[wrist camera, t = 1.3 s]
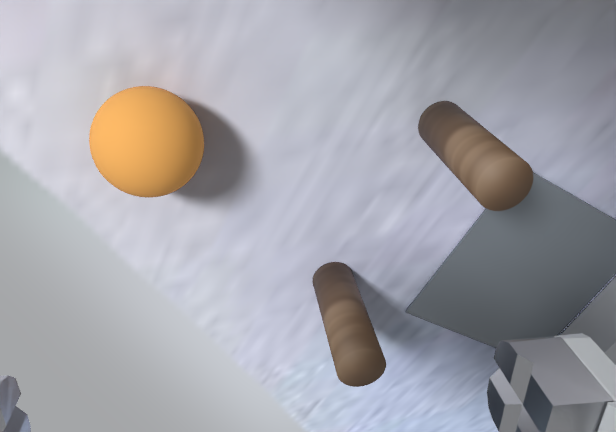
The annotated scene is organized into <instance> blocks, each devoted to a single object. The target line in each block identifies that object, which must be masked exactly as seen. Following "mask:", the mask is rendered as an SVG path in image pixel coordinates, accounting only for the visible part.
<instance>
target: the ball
mask: <svg viewBox="0 0 616 432" xmlns="http://www.w3.org/2000/svg"><path fill="white" fill-rule="evenodd" d="M89 143H90V151H91V155H92V158H93V160H94V162H95V165H96V167H97V168H98V170H99V172H100V173H101V174H102V175H103V177H104V178H105V179H106V180H107V181H108V182H109V183H111V184H112V185H113V186H115V187H116V188H118V189H119V190H121V191H123V192H125V193H128V194H131V195H134V196H139V197H158V196H163V195H167V194H170V193H172V192H174V191H176V190H178V189H179V188H181V187H182V186H184V185H185V184H186V183H187V182H188V181H189V180H190V179H191V178H192V177H193V176H194V174H195V173H196V171H197V169H198V168H199V165H200V163H201V160H202V157H203V152H204V136H203V131H202V127H201V124H200V122H199V120H198V118H197V116H196V115H195V113H194V111H193V110H192V109H191V108H190V106H189V105H188V104H187V103H186V102H185V101H184V100H182V99H181V98H180V97H178V96H177V95H175V94H173V93H171V92H169V91H167V90H164V89H161V88H157V87H150V86H139V87H133V88H128V89H126V90H123V91H120V92H119V93H117V94H115V95H113V96H112V97H110V98H109V99H108V100H107V101H106V102H105V103H104V104H103V105H102V106H101V107H100V109H99V110H98V111H97V113H96V115H95V117H94V119H93V122H92V125H91V129H90V137H89Z"/></svg>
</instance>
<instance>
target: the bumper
mask: <svg viewBox="0 0 616 432" xmlns="http://www.w3.org/2000/svg"><path fill="white" fill-rule="evenodd" d="M580 333H583V334H585V335H587V336H589V337H590V338H591V339H592V340H593V341H594V342H595V343H596V344H597V345H598V347H599V348H600V349H601V350H602V351H603V352H604V353H605V354H606V355H607V356H608V358H609V359H610V360H611V361H612V362H613V363H614V364H615V365H616V277H615V278H614V279H613V280H612V281H611V282H610V283H609V284H608V285H607V286H606V288H605V289H604V290H603V291H602V292H601V293H600V294H599V295H598V296H597V297H596V298H595V299H594V300H593V301H592V302H591V303H590V304H589V305H588V307H587V308H586V309H585V310H584V311H583V312H582V313H581V314H580V315H579V316H578V317H577V318H576V319H575V320H574V321H573V322H572V323H571V325H570V326H569V327H568V328H567V329H566V330H565V331H564V332H563V333H562V334H561V335H569V334H580Z"/></svg>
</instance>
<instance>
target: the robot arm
mask: <svg viewBox="0 0 616 432" xmlns="http://www.w3.org/2000/svg"><path fill="white" fill-rule="evenodd" d="M494 359H495V361H496V363H497V364H498V366H499V369H498V370H497V371H496V372H495V373H494V374H493V375H492V376H491V377H490V378H489V384H488V390H487V396H488V406H489V410H490V413H491V416H492V419H493V421H494V423H495V425H496V427H497V429H498V431H499V432H616V365H615V364H614V363H613V362H612V361H611V360H610V359H609V358H608V356H607V355H606V354H605V353H604V352H603V351H602V350H601V349H600V348H599V347H598V345H597V344H596V343H595V342H594V341H593V340H592V339H591V338H590V337H589V336H587V335H585V334H583V333H580V334H569V335H558V336H554V337H539V338H526V339H513V340H501V341H500V343H499V344H498V345H497V347H496V351H495V355H494ZM20 395H21V392H20V390H19V387H18V384H17V381H16V379H15V378H14V377H11V376H0V432H31V428H30V423H29V419H28V416H27V414H26V413H25V412H23V411H22V410H20V409H19V408H18V407H16V403H17V401H18V399H19V397H20Z"/></svg>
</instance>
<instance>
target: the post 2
mask: <svg viewBox="0 0 616 432" xmlns="http://www.w3.org/2000/svg"><path fill="white" fill-rule="evenodd" d="M418 130H419V134H420V136H421V138H422V139H423V140H424V141H425V142H426V144H427V145H428V146H429V147H430V148H431V149H432V150H433V151H434V152H435V154H436V155H437V156H438V157H439V158H440V159H441V160H442V161H443V162H444V164H445V165H446V166H447V167H448V168H449V169H450V170H451V171H452V173H453V174H454V175H455V176H456V177H457V178H458V179H459V180H460V181H461V183H462V184H463V185H464V186H465V187H466V188H467V189H468V190H469V191H470V193H471V194H472V195H473V196H474V197H475V198H476V199H477V200H478V201H479V203H480V204H481V205H482V206H483V207H485V208H486V209H489V210H492V211H504V210H507V209H510V208H512V207H514V206H516V205H517V204H519V203H520V202H521V201H522V200H523V199H524V198H525V197H526V196H527V195H528V193H529V191H530V189H531V187H532V184H533V171H532V169H531V167H530V165H529V164H528V163H527V162H526V161H524V160H523V159H522V158H521V157H519V156H518V155H517V154H516V153H515V152H513V151H512V150H511V149H510V148H508V147H507V146H506V145H505V144H504V143H502V142H501V141H500V140H499V139H497V138H496V137H495V136H494V135H493V134H491V133H490V132H489V131H488V130H486V129H485V128H484V127H483V126H482V125H480V124H479V123H478V122H477V121H476V120H474V119H473V118H472V117H471V116H469V115H468V114H467V113H466V112H465V111H463V110H462V109H461V108H460V107H458V106H457V105H456V104H454V103H452V102H449V101H440V102H437V103H434V104H432V105H431V106H429V107H428V108H427V109H426V110H425V111H424V112H423V114H422V115H421V117H420V120H419V124H418Z"/></svg>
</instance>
